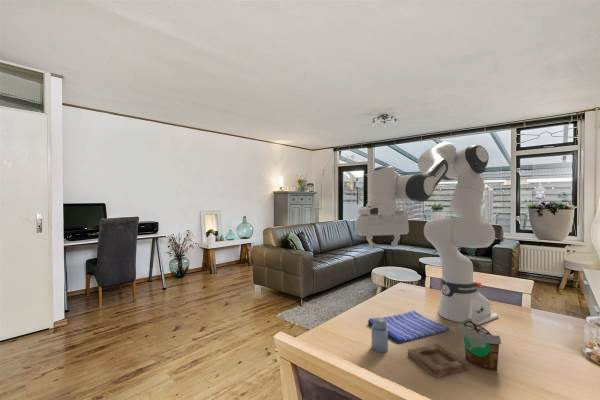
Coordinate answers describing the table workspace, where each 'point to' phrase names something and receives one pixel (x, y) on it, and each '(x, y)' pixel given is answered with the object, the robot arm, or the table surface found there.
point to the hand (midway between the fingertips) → (383, 247)
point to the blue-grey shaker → (379, 335)
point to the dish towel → (410, 326)
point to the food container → (480, 345)
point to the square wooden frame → (437, 360)
